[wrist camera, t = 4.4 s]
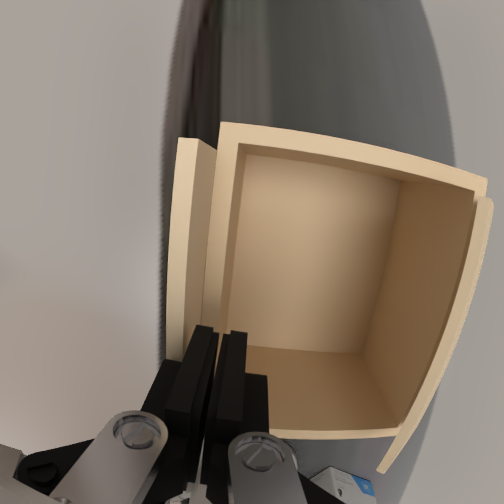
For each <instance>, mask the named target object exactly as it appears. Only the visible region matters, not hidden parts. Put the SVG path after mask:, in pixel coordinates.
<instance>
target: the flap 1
mask: <svg viewBox="0 0 504 504" xmlns="http://www.w3.org/2000/svg"><path fill="white" fill-rule="evenodd" d="M216 153H217V150H216V149H214V148H212V147H211V146H209V145H208V144H206V143H204V142H203V141H201V140H199V139H193V138H179V139H178V148H177V156H176V165H175V175H174V185H173V196H172V208H171V221H170V236H169V253H168V274H167V306H166V359H169V360H174V361H179V362H182V360H183V358H184V355H185V352H186V350H187V347H188V345H189V342H190V339H191V337H192V334H193V332H194V329H195V326H196V324H197V325H201V312H202V298H203V285H204V272H205V260H206V248H207V237H208V227H209V217H210V207H211V197H212V188H213V179H214V170H215V161H216Z"/></svg>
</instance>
